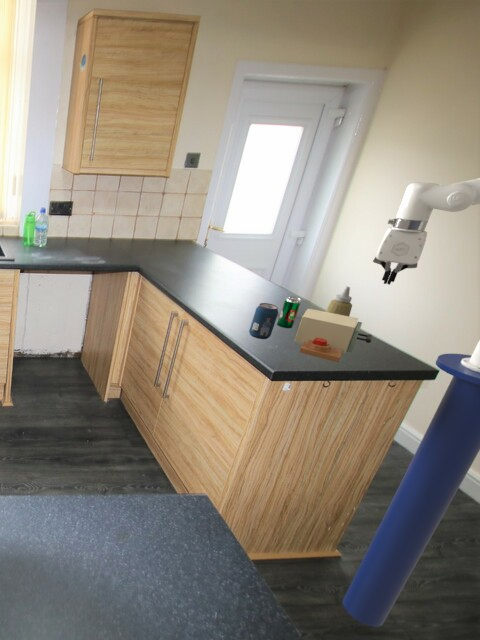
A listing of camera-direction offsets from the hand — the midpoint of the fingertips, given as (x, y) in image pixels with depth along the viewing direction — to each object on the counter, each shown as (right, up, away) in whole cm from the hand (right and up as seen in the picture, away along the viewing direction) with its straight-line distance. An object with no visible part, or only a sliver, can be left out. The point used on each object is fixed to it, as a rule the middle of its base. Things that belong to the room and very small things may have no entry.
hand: (386, 283), depth 151 cm
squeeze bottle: (+4, -15, +28) cm, 32 cm away
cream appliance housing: (-8, -19, +18) cm, 27 cm away
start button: (-15, -20, +8) cm, 26 cm away
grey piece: (-5, -20, +15) cm, 25 cm away
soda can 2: (-12, -13, +31) cm, 36 cm away
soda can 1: (-28, -17, +22) cm, 39 cm away
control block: (-15, -23, +9) cm, 29 cm away
